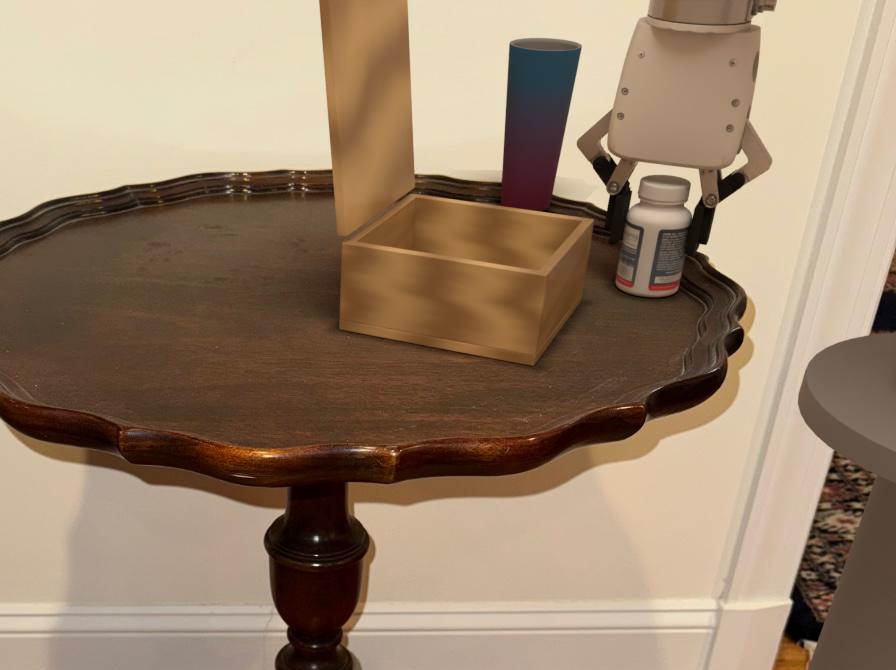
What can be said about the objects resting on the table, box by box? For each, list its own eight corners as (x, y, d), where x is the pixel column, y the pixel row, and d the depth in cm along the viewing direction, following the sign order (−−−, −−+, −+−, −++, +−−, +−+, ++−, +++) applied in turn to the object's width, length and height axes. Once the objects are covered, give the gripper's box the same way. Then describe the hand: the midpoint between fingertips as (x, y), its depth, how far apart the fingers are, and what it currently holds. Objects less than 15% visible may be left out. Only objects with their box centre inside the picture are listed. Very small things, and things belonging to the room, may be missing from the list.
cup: (486, 210, 114) (503, 47, 105) (498, 192, 119) (515, 35, 110) (553, 217, 112) (577, 52, 103) (562, 199, 117) (586, 40, 109)
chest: (581, 301, 93) (594, 218, 89) (533, 366, 83) (546, 275, 79) (405, 272, 99) (410, 193, 95) (338, 329, 88) (341, 242, 84)
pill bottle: (683, 283, 97) (706, 177, 92) (670, 303, 93) (693, 193, 88) (622, 273, 99) (641, 169, 94) (607, 292, 95) (626, 184, 90)
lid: (406, -36, 85) (396, -35, 86) (328, -13, 75) (317, -12, 75) (415, 187, 94) (406, 187, 95) (346, 236, 83) (337, 236, 84)
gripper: (828, 5, 83) (766, 248, 94) (598, -11, 89) (563, 219, 100) (820, 20, 78) (754, 276, 88) (574, 1, 84) (541, 243, 94)
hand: (653, 243), depth 94 cm, fingers open, 5 cm apart
